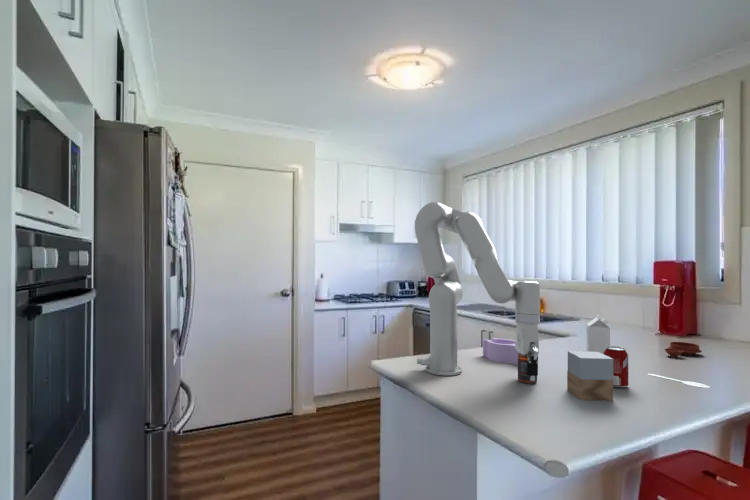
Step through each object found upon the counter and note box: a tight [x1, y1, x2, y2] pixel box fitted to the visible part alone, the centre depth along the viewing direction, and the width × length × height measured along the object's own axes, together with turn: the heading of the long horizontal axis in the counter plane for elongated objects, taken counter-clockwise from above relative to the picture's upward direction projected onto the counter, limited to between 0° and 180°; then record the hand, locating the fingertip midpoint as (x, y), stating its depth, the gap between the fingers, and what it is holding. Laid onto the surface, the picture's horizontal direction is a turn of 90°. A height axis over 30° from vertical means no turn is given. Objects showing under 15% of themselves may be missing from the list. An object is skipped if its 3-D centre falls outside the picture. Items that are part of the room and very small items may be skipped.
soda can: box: [604, 345, 629, 389], centre depth 130 cm, size 7×7×12 cm
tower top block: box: [567, 350, 613, 380], centre depth 120 cm, size 9×9×6 cm
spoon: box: [647, 373, 711, 389], centre depth 136 cm, size 5×18×1 cm, turn 31°
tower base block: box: [566, 370, 614, 402], centre depth 120 cm, size 9×9×6 cm
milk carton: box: [586, 314, 611, 354], centre depth 156 cm, size 7×7×19 cm
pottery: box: [664, 341, 703, 359], centre depth 175 cm, size 12×20×4 cm, turn 124°
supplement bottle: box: [517, 347, 538, 384], centre depth 133 cm, size 6×6×11 cm
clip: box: [482, 337, 518, 366], centre depth 163 cm, size 20×12×7 cm, turn 39°
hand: (527, 371), depth 133 cm, fingers open, 9 cm apart
